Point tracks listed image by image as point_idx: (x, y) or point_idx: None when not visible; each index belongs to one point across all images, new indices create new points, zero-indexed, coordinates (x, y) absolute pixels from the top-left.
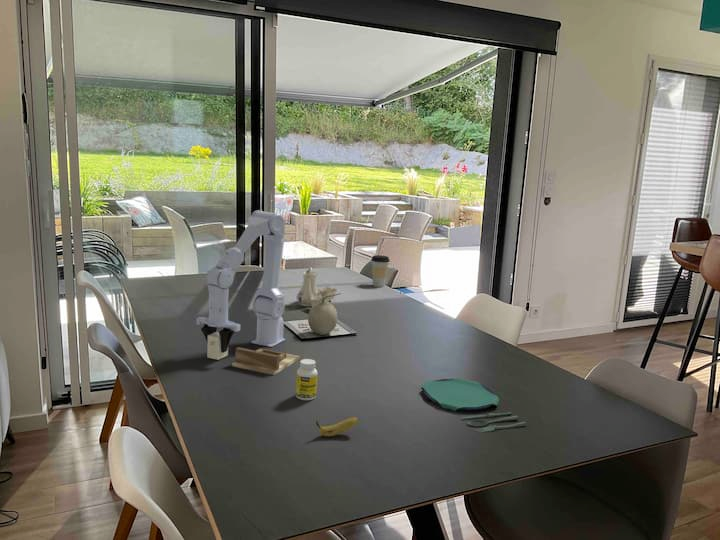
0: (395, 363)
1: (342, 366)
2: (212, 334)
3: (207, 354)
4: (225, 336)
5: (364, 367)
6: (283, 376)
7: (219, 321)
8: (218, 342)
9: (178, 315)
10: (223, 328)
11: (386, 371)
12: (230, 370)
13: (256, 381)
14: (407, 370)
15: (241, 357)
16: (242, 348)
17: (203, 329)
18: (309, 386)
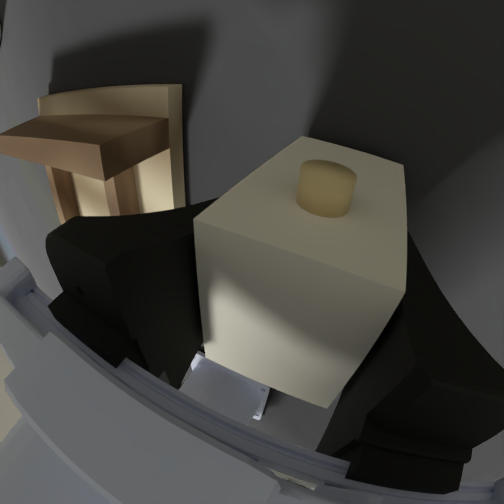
0: (25, 259)
1: (32, 227)
2: (342, 332)
3: (402, 172)
4: (101, 219)
5: (23, 232)
6: (36, 104)
7: (13, 433)
8: (235, 188)
9: (498, 479)
10: (110, 350)
11: (10, 222)
12: (160, 26)
13: (55, 15)
14: (8, 234)
15: (111, 124)
16: (81, 169)
17: (484, 389)
18: None
